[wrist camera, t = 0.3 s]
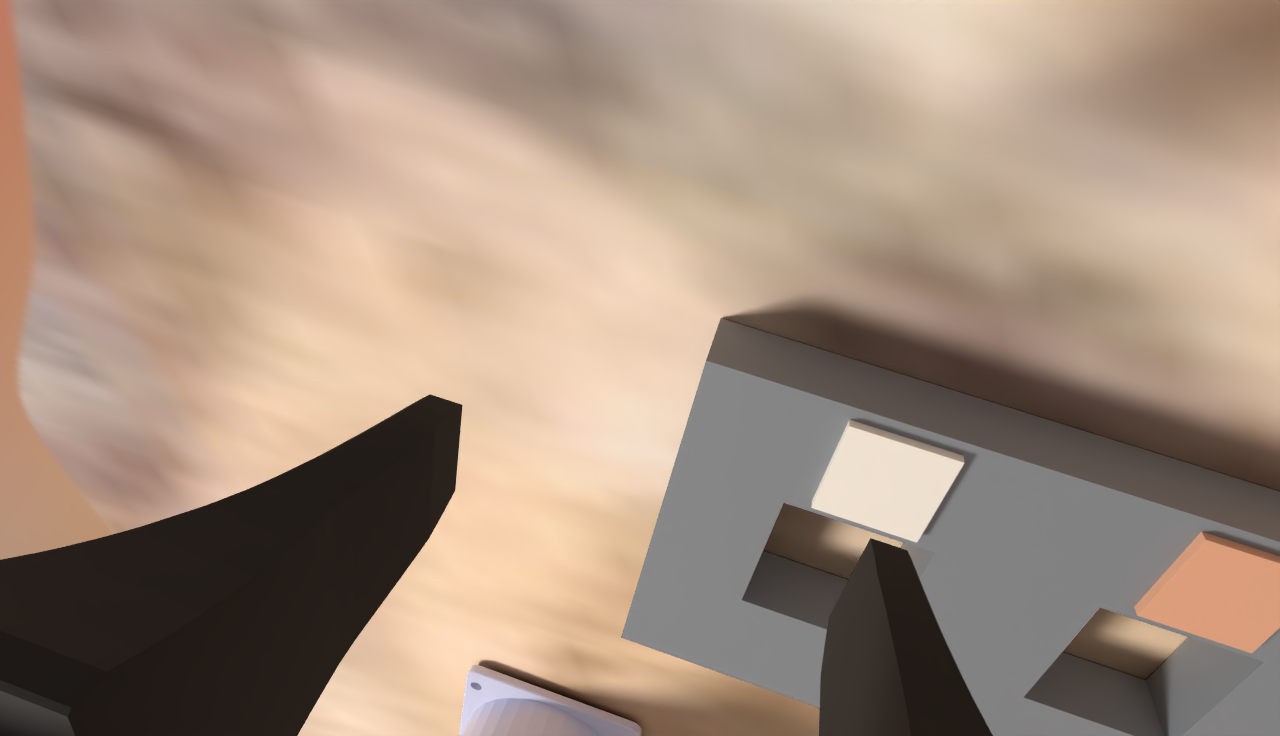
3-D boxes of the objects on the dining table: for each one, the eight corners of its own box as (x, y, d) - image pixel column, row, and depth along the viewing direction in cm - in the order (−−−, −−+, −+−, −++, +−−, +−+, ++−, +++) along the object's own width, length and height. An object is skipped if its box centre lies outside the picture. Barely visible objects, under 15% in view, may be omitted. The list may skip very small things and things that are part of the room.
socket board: (1179, 774, 27) (1206, 854, 25) (638, 586, 29) (618, 644, 27) (1449, 544, 20) (1520, 625, 18) (721, 317, 22) (704, 366, 20)
